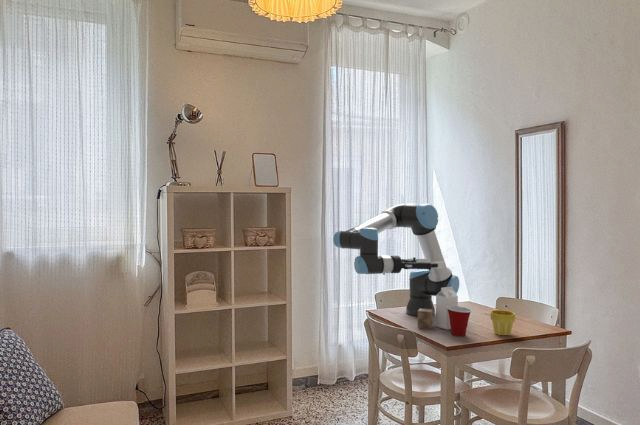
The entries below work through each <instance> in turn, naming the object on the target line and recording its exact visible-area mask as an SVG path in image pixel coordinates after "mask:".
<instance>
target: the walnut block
mask: <svg viewBox="0 0 640 425" xmlns="http://www.w3.org/2000/svg"><path fill="white" fill-rule="evenodd" d="M433 316H434V315H433V309H421V308H420V309H419V310H418V316H417V328H418V329H427V330H431V329H432V328H433V323H434V322H433V318H434V317H433Z"/></svg>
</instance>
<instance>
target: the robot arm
mask: <svg viewBox="0 0 640 425" xmlns="http://www.w3.org/2000/svg"><path fill="white" fill-rule="evenodd" d="M438 224H439V213H438V210H437V209H436V208H435V206H434V205H432V204H430V203H423V202H422V203H401V204H397V205H394V206H392V207H390V208H387V209H386V210H383V211H381V213H380V214H379V215H378V216H375V217H373V218H371V219H369V220H366V221H364V222H362V223H361V224H359V225H356V226H353V227H352V228H349V229H347V230H337V231H336V232H335V233H334V234H333V239H332V241H333V245H334V246H335V247H336V248H339V249H347V250H349V249H350V250H359V256H358V255H357V256H355V258H354V262H353V266H354V272H356V274H358V275H376V274H377V275H378V274H379V275H381V274H382V275H384V276H385V275H386V274H399V273H401V272H402V269H404V270H412V271H410V273H409V279H408V280H409V299H408V301H407V305H406V308H405V312H406V314H408V315H410V316H417V317H418V310H419V309H420V308H421V309H433V316H434V315H435V316H436V307H435V306H434V305H435V304H434V302H433V297H436V295H437V294H438V293H439V292H440V291H441V288H444V287H453V288H452V289H453V290H454V292H455V293H456V294H458V292H459V288H460V277H458V275H456V274H455V275H454V274H453V273H452V270H451V269H450V268H449V267H447V265H446V262H445V258H444V255H443V252H442V249H441V247H440V246H441V245H440V243H439V240H438V237H437V234H436V231H435V230H436V228H437V226H438ZM395 228H411V232H412V234H413V235H414V236H417V239H418V242H419V244H420V248H421V250H422V254H423V256H424V258H416V257H415V256H414V257H413V256H412V257H411V258H402V259H401V256H400V255H379V254H378V253H379V252H378V251H379V234H380V233H382V232H384V231H385V230H393V229H395Z"/></svg>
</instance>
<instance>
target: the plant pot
mask: <svg viewBox="0 0 640 425" xmlns="http://www.w3.org/2000/svg"><path fill="white" fill-rule="evenodd" d="M489 315H490V320H491V321H492V328H493V331H494V332H493V333H494V335H496V334H498V335H497V336H500V335H509V336H511V334H512V329H513V324H514V323H515V322H516V313H515V312H513V311H509V310H506V309H503V310H502V309H492V310H490V314H489Z"/></svg>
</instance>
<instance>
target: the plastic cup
mask: <svg viewBox="0 0 640 425" xmlns="http://www.w3.org/2000/svg"><path fill="white" fill-rule="evenodd" d="M447 309H448V314H449V320H450V327H451V329H450V330H451V334H452V335H453V336H455V337H465V336H466V333H467V329H468V325H469V324H468V323H469V318H470V315H471V313H472V311H473V310H472V309H471V308H469V307H465V306H460V305H458V306H447Z"/></svg>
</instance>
